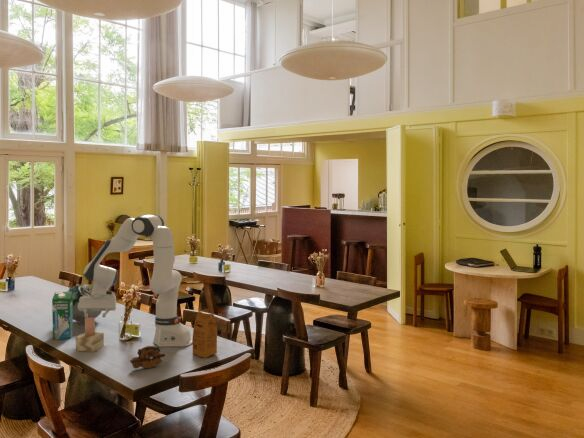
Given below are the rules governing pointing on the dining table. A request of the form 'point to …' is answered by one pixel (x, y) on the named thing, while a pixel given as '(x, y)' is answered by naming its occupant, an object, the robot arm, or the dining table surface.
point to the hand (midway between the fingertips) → (94, 316)
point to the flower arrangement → (76, 294)
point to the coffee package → (204, 335)
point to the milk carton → (62, 315)
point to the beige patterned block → (89, 342)
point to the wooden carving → (147, 357)
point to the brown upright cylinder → (89, 326)
